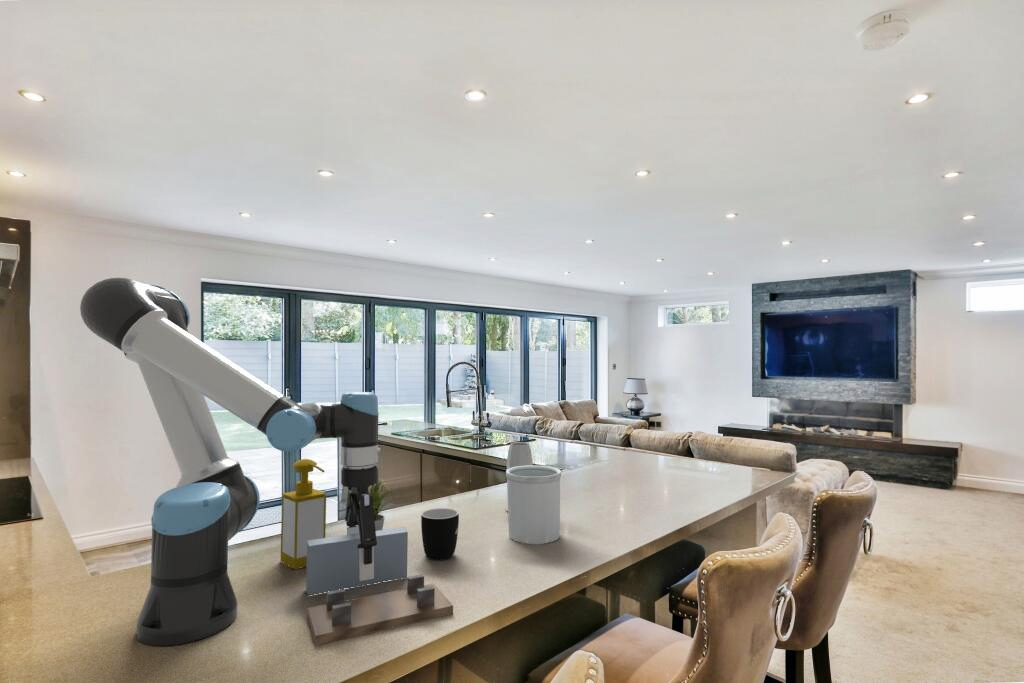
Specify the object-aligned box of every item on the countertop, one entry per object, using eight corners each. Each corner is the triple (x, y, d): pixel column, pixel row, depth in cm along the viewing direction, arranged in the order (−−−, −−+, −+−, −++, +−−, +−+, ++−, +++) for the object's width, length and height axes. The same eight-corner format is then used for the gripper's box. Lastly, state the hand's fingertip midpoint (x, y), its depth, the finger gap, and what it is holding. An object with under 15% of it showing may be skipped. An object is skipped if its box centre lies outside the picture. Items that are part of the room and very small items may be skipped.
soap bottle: (306, 576, 114) (308, 466, 115) (280, 561, 123) (282, 459, 124) (336, 567, 119) (338, 462, 120) (310, 553, 128) (312, 455, 129)
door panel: (307, 597, 104) (309, 546, 105) (306, 590, 107) (307, 540, 108) (407, 578, 113) (407, 531, 114) (402, 572, 117) (403, 527, 117)
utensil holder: (532, 550, 131) (532, 478, 132) (494, 535, 142) (494, 469, 143) (572, 537, 141) (572, 471, 141) (534, 524, 152) (534, 463, 152)
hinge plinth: (315, 645, 86) (315, 617, 86) (307, 616, 96) (308, 591, 96) (453, 613, 97) (453, 588, 97) (433, 590, 107) (433, 568, 107)
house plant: (352, 531, 144) (353, 471, 145) (402, 532, 144) (403, 471, 145) (332, 549, 130) (334, 483, 131) (388, 550, 130) (389, 483, 130)
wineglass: (533, 515, 161) (533, 445, 162) (505, 514, 161) (505, 445, 162) (532, 507, 170) (533, 441, 171) (505, 507, 170) (506, 441, 171)
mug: (461, 560, 123) (461, 517, 124) (422, 564, 121) (423, 519, 121) (453, 543, 135) (453, 503, 135) (417, 547, 133) (418, 506, 133)
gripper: (392, 474, 102) (392, 585, 101) (365, 454, 124) (365, 546, 123) (352, 478, 99) (352, 594, 98) (332, 457, 121) (331, 551, 120)
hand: (359, 567), depth 111 cm, fingers open, 13 cm apart
